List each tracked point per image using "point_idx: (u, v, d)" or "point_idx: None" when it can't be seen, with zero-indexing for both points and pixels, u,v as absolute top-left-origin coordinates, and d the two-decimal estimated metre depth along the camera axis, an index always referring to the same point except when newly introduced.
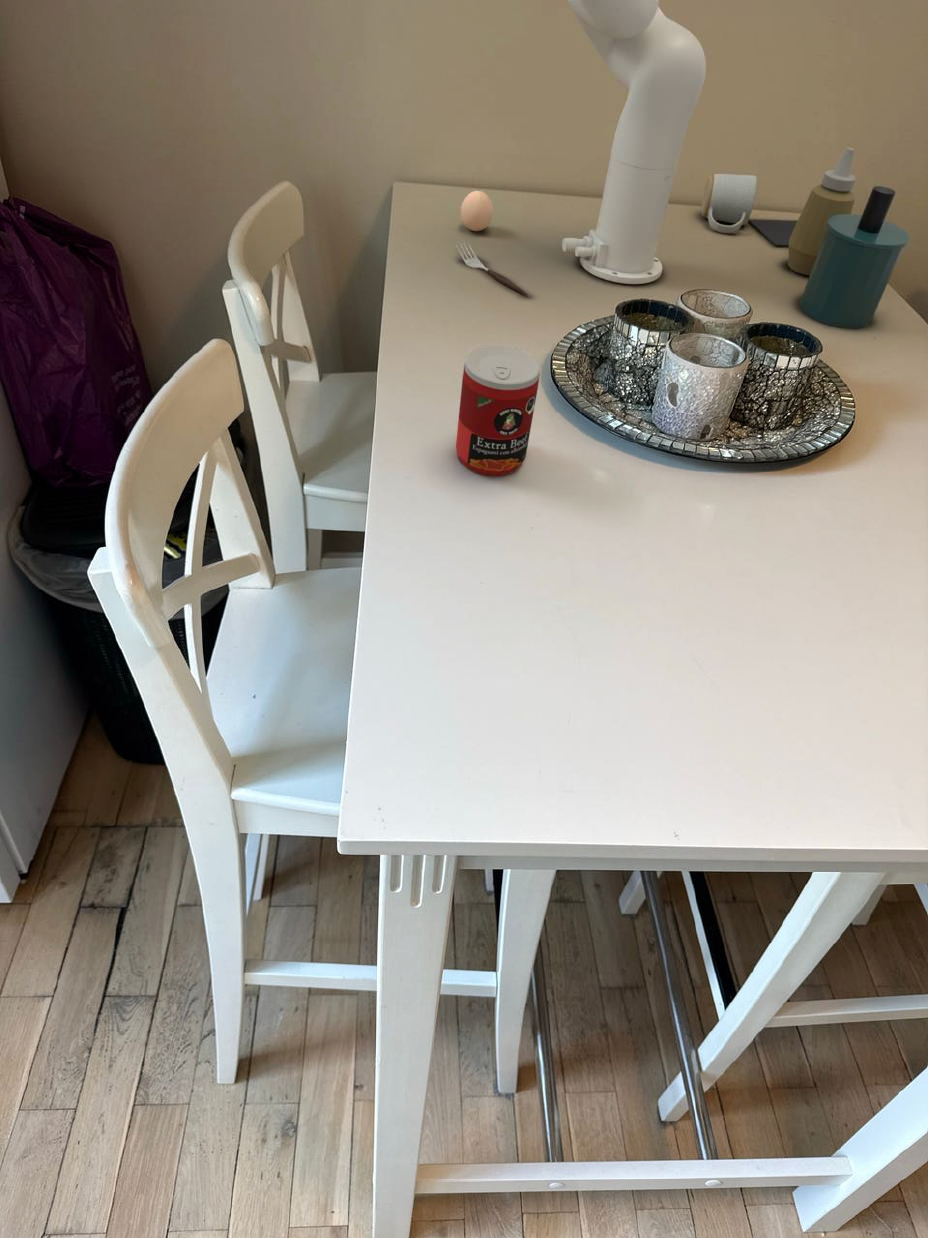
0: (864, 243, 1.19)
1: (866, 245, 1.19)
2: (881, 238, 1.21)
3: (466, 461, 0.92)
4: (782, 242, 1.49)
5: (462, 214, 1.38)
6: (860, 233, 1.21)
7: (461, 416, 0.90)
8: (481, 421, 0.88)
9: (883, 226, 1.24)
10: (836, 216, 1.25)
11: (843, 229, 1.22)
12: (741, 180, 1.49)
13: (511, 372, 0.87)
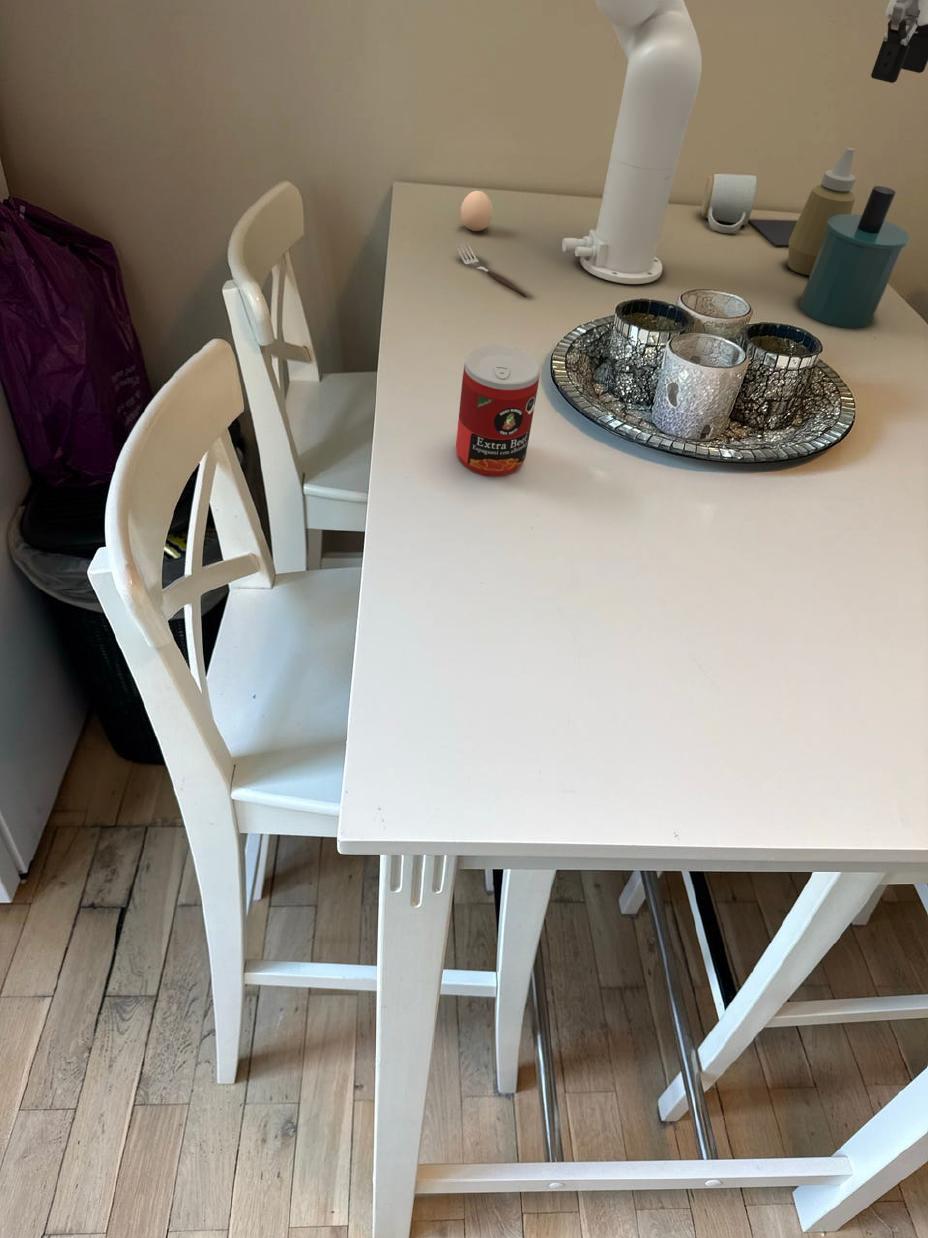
0: (864, 243, 1.19)
1: (866, 245, 1.19)
2: (881, 238, 1.21)
3: (466, 461, 0.92)
4: (782, 242, 1.49)
5: (462, 214, 1.38)
6: (860, 233, 1.21)
7: (461, 416, 0.90)
8: (481, 421, 0.88)
9: (883, 226, 1.24)
10: (836, 216, 1.25)
11: (843, 229, 1.22)
12: (741, 180, 1.49)
13: (511, 372, 0.87)
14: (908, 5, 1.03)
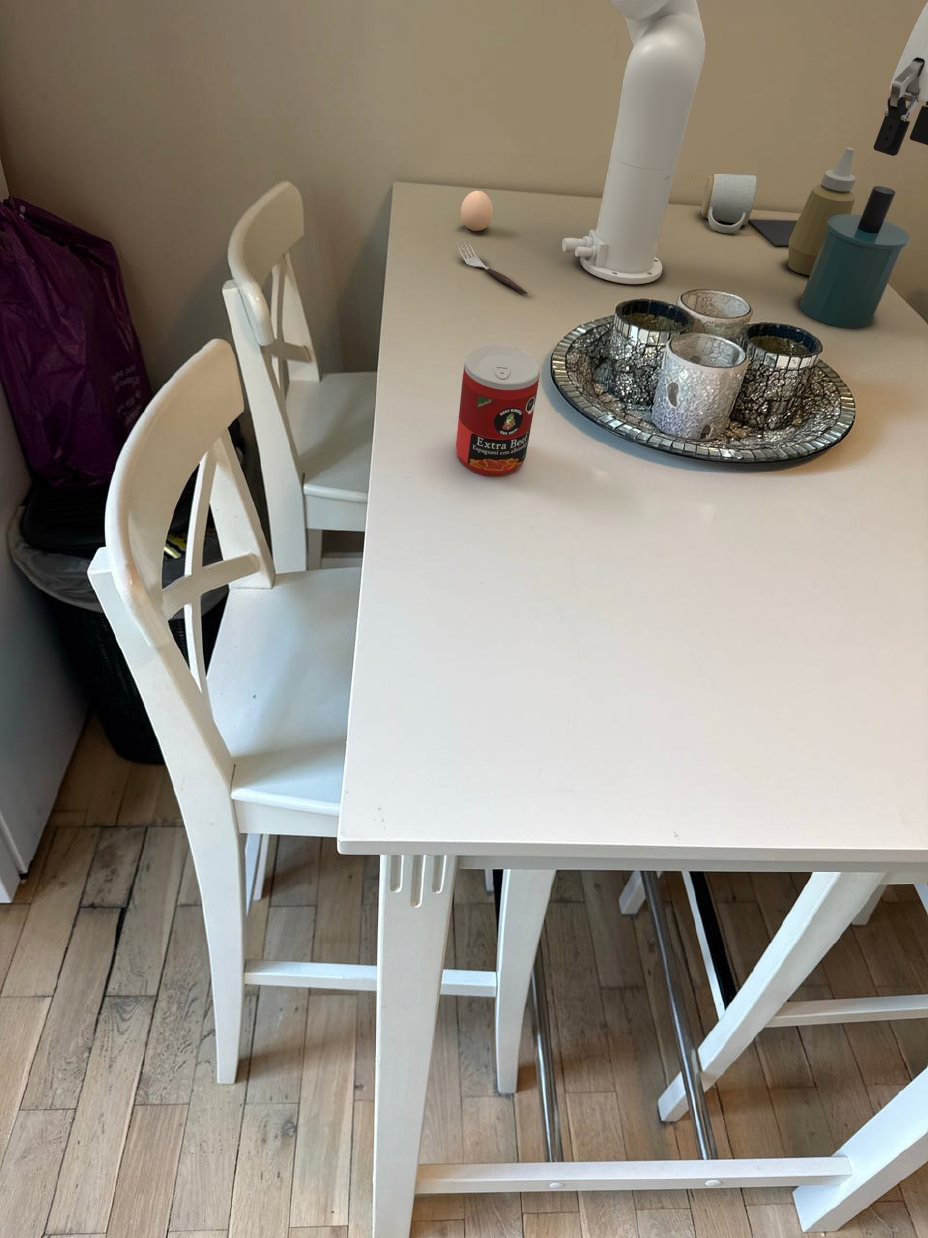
0: (864, 243, 1.19)
1: (866, 245, 1.19)
2: (881, 238, 1.21)
3: (466, 461, 0.92)
4: (782, 242, 1.49)
5: (462, 214, 1.38)
6: (860, 233, 1.21)
7: (461, 416, 0.90)
8: (481, 421, 0.88)
9: (883, 226, 1.24)
10: (836, 216, 1.25)
11: (843, 229, 1.22)
12: (741, 180, 1.49)
13: (511, 372, 0.87)
14: (907, 83, 1.06)
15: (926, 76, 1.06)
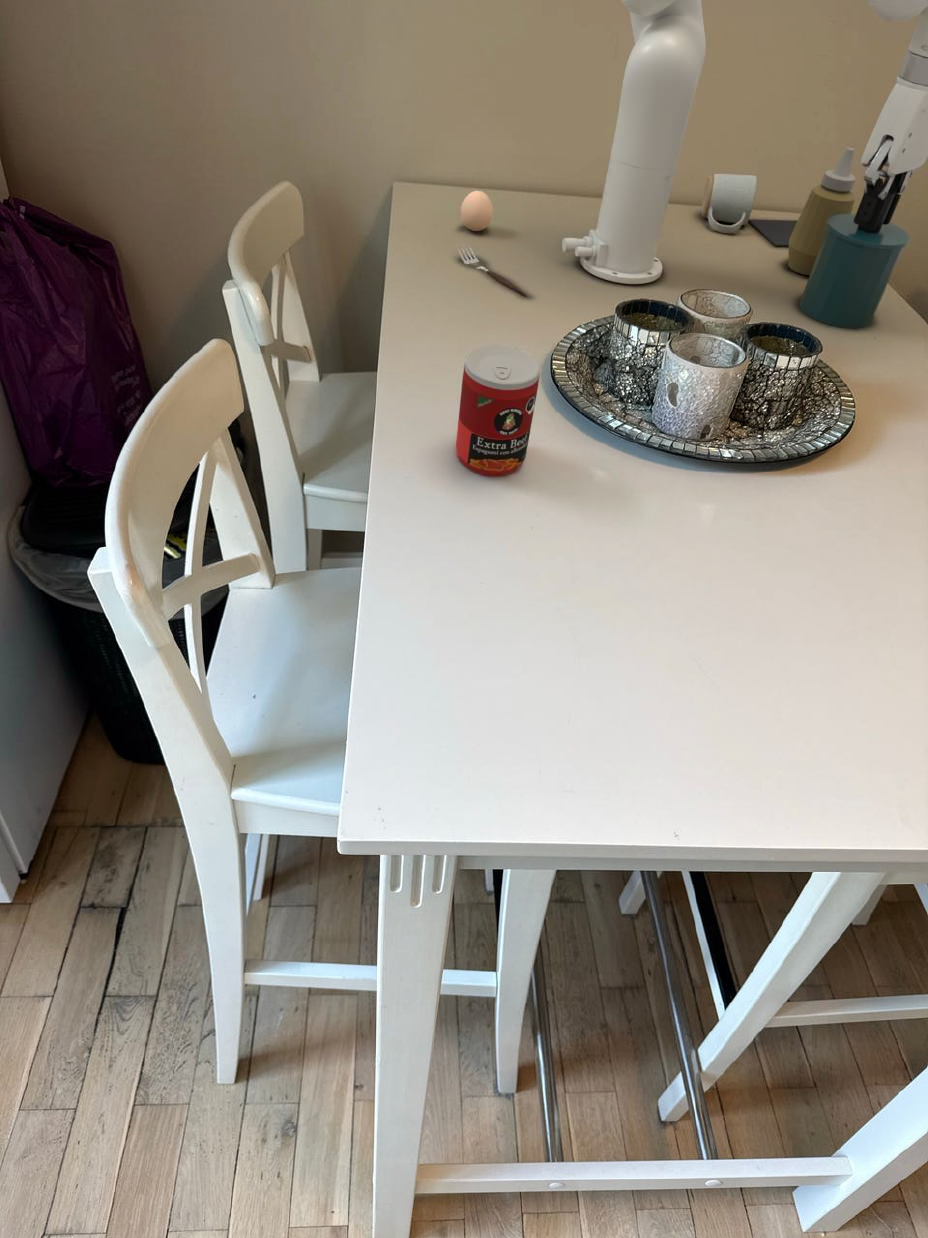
0: (864, 243, 1.19)
1: (866, 245, 1.19)
2: (881, 238, 1.21)
3: (466, 461, 0.92)
4: (782, 242, 1.49)
5: (462, 214, 1.38)
6: (860, 233, 1.21)
7: (461, 416, 0.90)
8: (481, 421, 0.88)
9: (883, 226, 1.24)
10: (836, 216, 1.25)
11: (843, 229, 1.22)
12: (741, 180, 1.49)
13: (511, 372, 0.87)
14: (878, 172, 1.14)
15: (895, 152, 1.12)
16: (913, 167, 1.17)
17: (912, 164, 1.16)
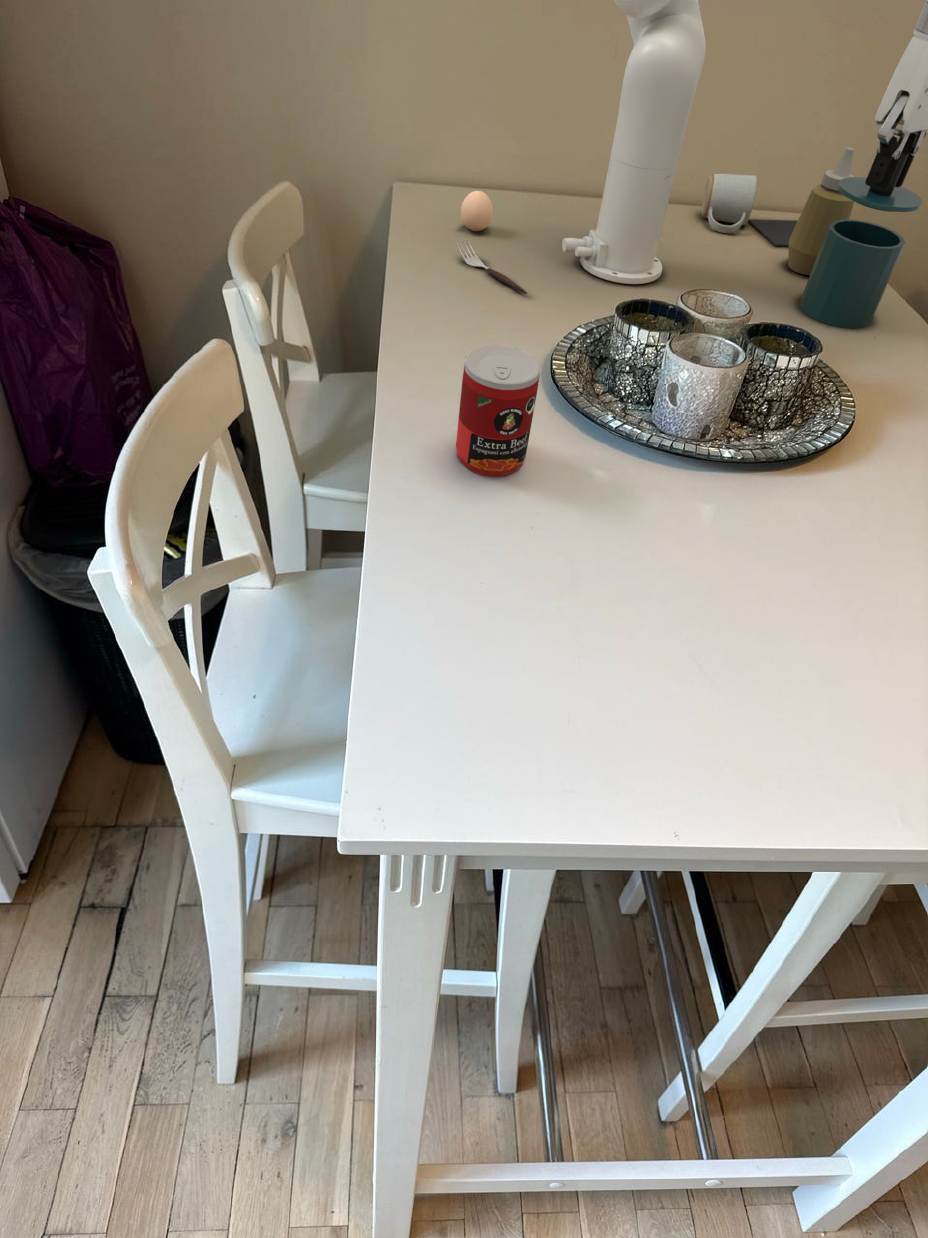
0: (876, 205, 1.16)
1: (878, 207, 1.16)
2: (893, 200, 1.17)
3: (466, 461, 0.92)
4: (782, 242, 1.49)
5: (462, 214, 1.38)
6: (872, 195, 1.18)
7: (461, 416, 0.90)
8: (481, 421, 0.88)
9: (895, 189, 1.21)
10: (847, 178, 1.22)
11: (854, 191, 1.18)
12: (741, 180, 1.49)
13: (511, 372, 0.87)
14: (892, 129, 1.11)
15: (910, 109, 1.09)
16: None
17: (927, 123, 1.12)
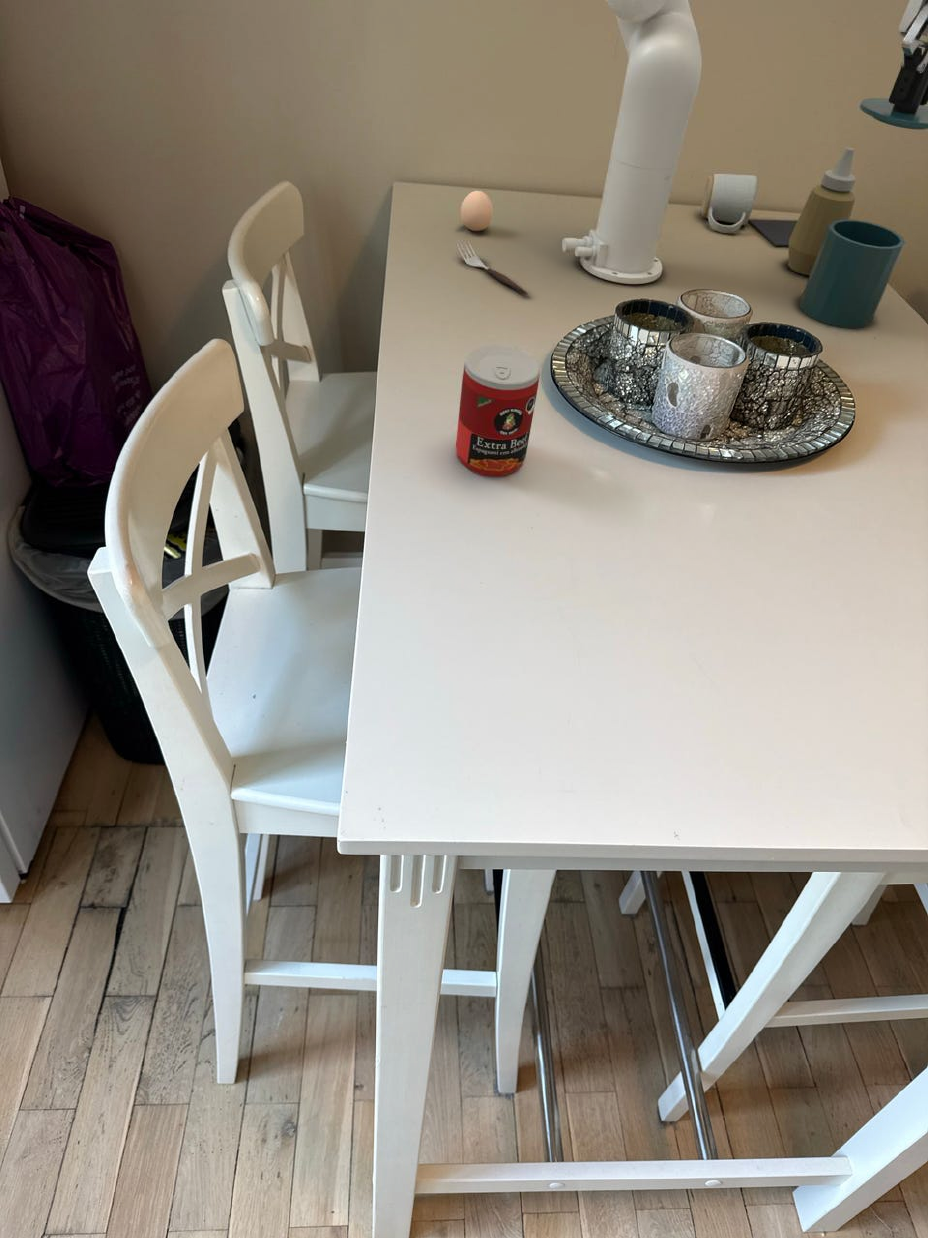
0: (900, 121, 1.12)
1: (902, 123, 1.12)
2: (918, 117, 1.13)
3: (466, 461, 0.92)
4: (782, 242, 1.49)
5: (462, 214, 1.38)
6: (896, 113, 1.14)
7: (461, 416, 0.90)
8: (481, 421, 0.88)
9: (920, 109, 1.17)
10: (870, 99, 1.18)
11: (877, 109, 1.15)
12: (741, 180, 1.49)
13: (511, 372, 0.87)
14: (917, 39, 1.07)
15: None
16: None
17: None
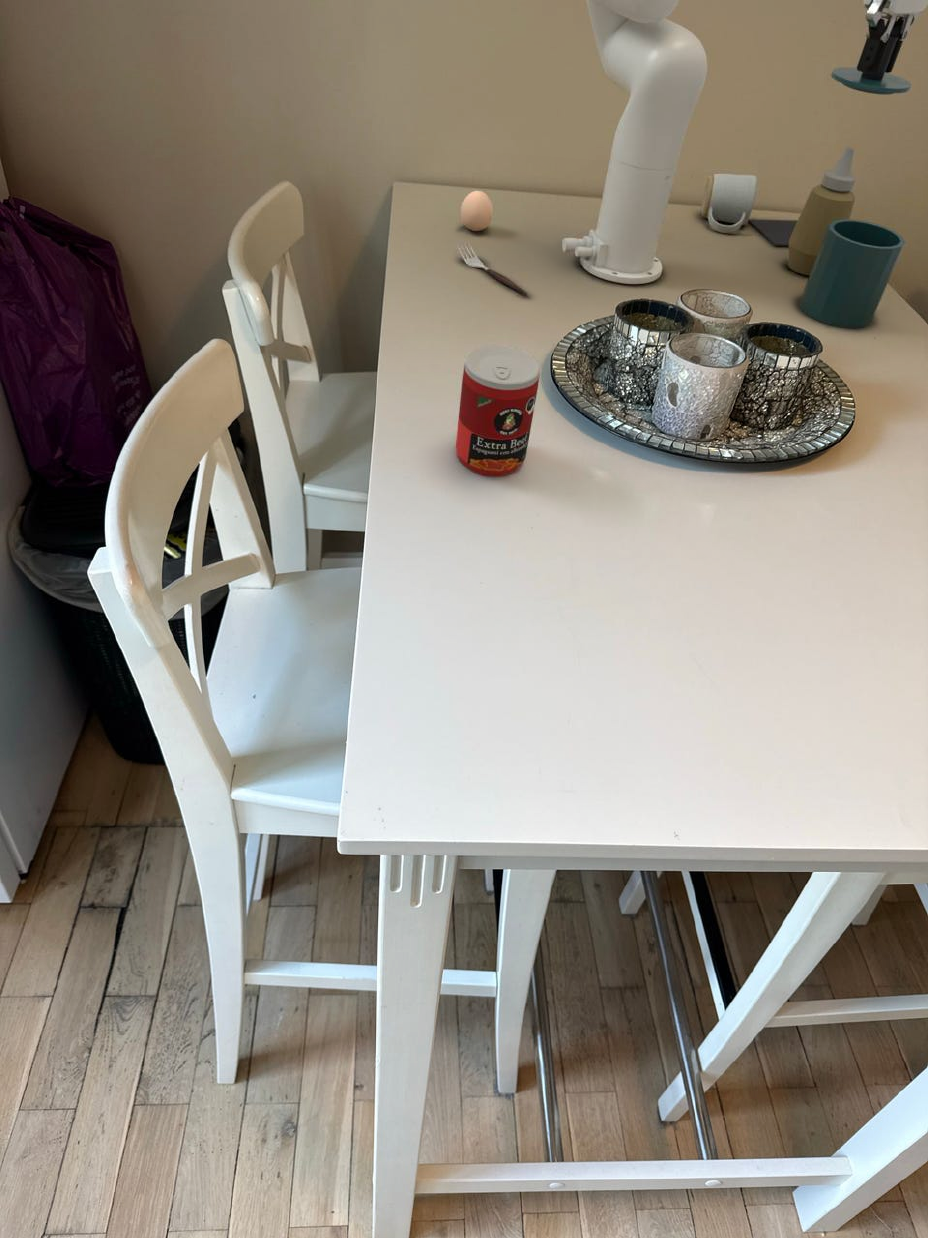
0: (866, 86, 1.23)
1: (868, 88, 1.23)
2: (883, 83, 1.25)
3: (466, 461, 0.92)
4: (782, 242, 1.49)
5: (462, 214, 1.38)
6: (863, 79, 1.25)
7: (461, 416, 0.90)
8: (481, 421, 0.88)
9: (886, 76, 1.28)
10: (841, 68, 1.30)
11: (847, 76, 1.26)
12: (741, 180, 1.49)
13: (511, 372, 0.87)
14: (879, 11, 1.18)
15: None
16: (914, 9, 1.21)
17: (913, 5, 1.20)
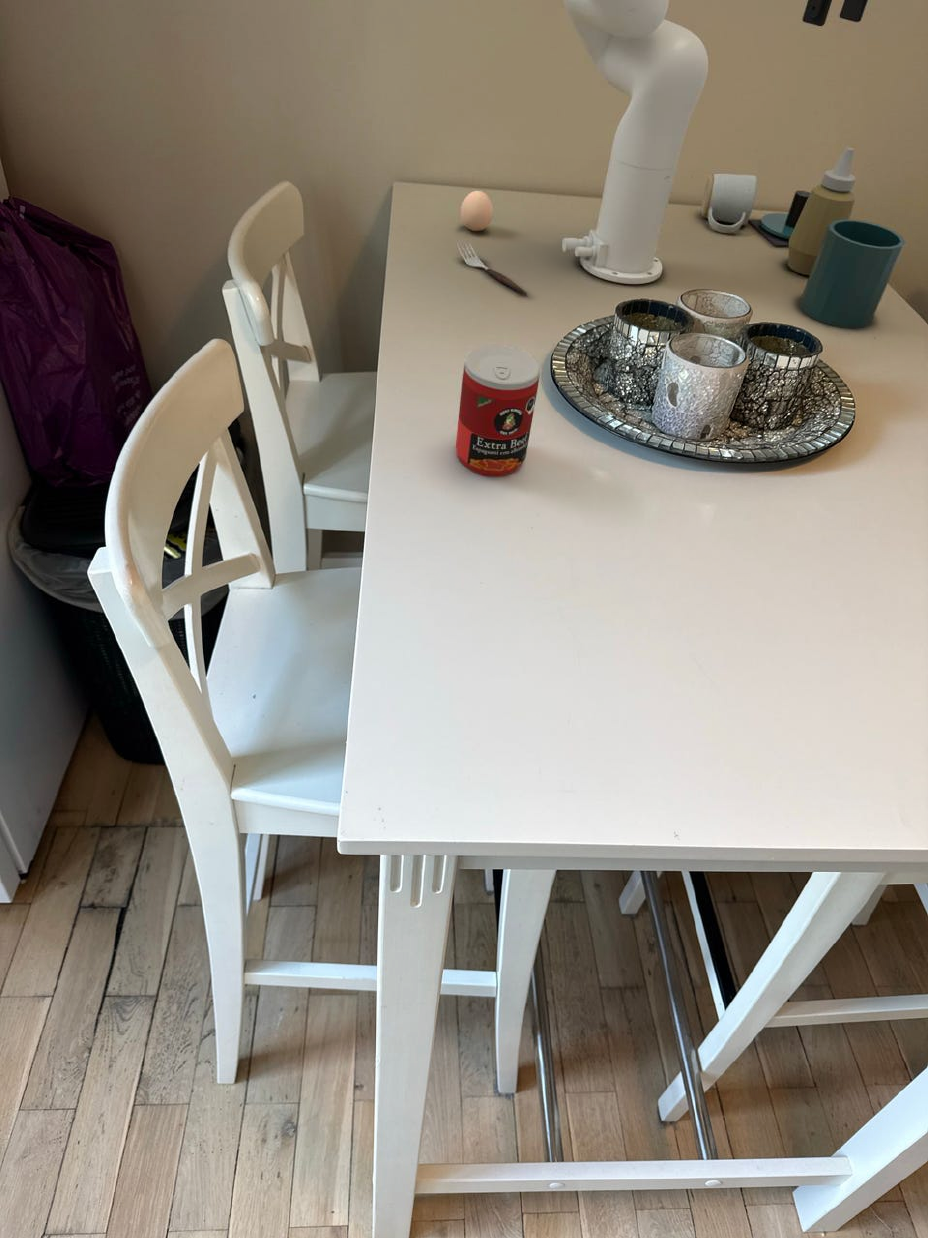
0: (788, 236, 1.48)
1: None
2: None
3: (466, 461, 0.92)
4: (782, 242, 1.49)
5: (462, 214, 1.38)
6: (786, 228, 1.50)
7: (461, 416, 0.90)
8: (481, 421, 0.88)
9: None
10: (768, 214, 1.55)
11: (772, 225, 1.51)
12: (741, 180, 1.49)
13: (511, 372, 0.87)
14: None
15: None
16: None
17: None
